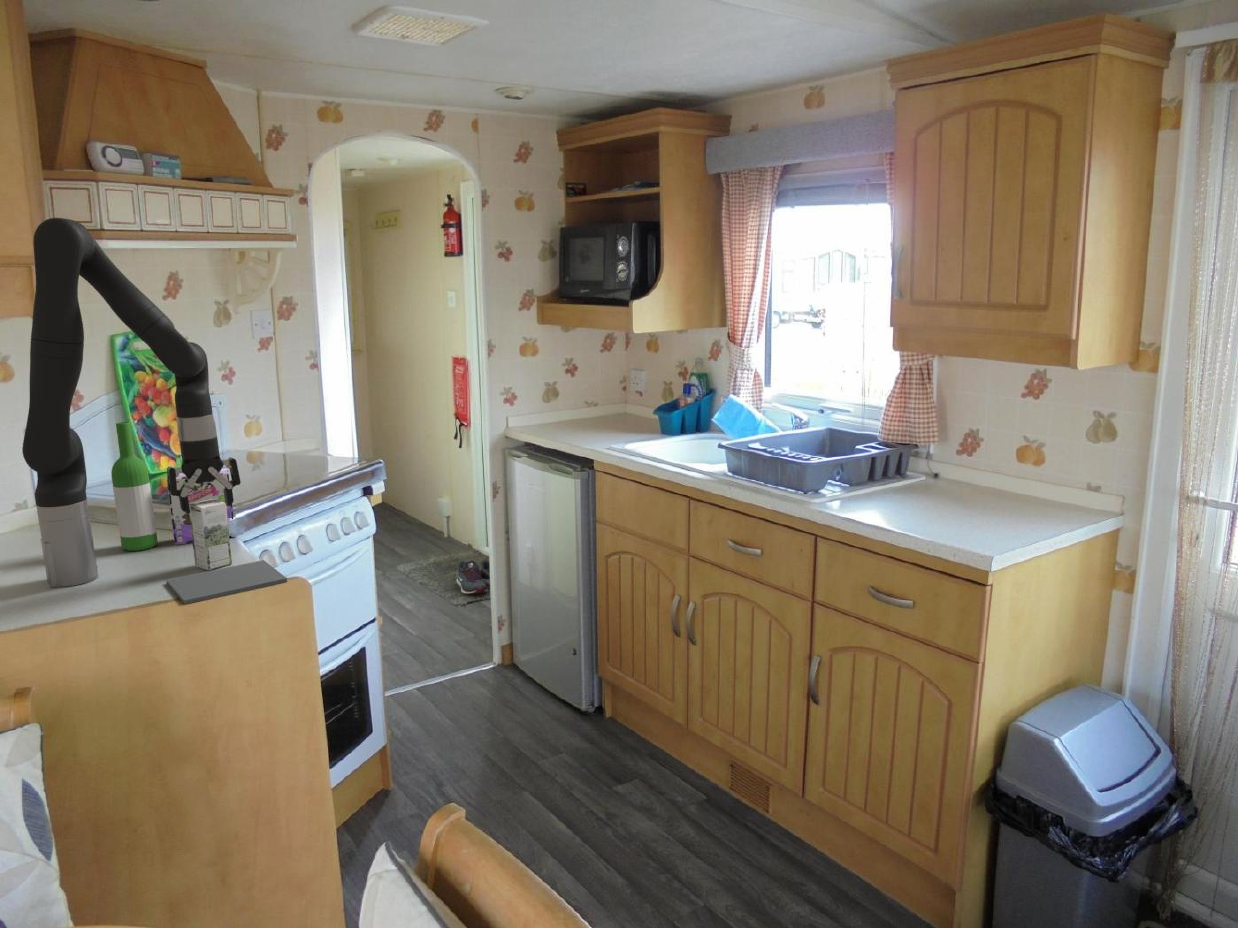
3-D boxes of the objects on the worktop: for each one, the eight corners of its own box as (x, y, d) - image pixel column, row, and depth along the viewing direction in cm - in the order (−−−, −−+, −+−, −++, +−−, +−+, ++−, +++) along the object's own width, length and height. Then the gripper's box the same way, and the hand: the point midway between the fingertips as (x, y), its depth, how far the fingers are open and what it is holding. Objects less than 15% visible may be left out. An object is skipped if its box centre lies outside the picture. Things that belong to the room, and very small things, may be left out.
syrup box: (219, 559, 212) (212, 497, 209) (233, 564, 208) (225, 501, 205) (195, 566, 208) (187, 503, 204) (208, 571, 204) (200, 506, 201)
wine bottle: (116, 548, 223) (98, 423, 216) (149, 540, 229) (133, 418, 222) (130, 554, 218) (112, 426, 211) (164, 546, 224) (147, 421, 217)
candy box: (174, 545, 224) (165, 478, 220) (174, 539, 229) (166, 473, 225) (236, 537, 229) (228, 471, 226) (235, 531, 234) (228, 467, 231)
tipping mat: (184, 604, 184) (184, 600, 184) (166, 583, 197) (166, 579, 197) (287, 581, 196) (286, 578, 196) (264, 563, 208) (263, 560, 208)
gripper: (166, 443, 195) (177, 519, 198) (237, 433, 203) (246, 506, 206) (158, 438, 200) (169, 512, 204) (227, 429, 209) (237, 500, 212)
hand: (208, 509), depth 205 cm, fingers open, 8 cm apart
